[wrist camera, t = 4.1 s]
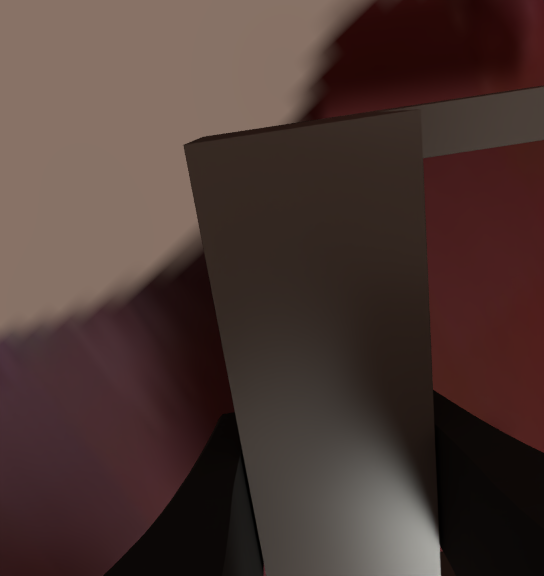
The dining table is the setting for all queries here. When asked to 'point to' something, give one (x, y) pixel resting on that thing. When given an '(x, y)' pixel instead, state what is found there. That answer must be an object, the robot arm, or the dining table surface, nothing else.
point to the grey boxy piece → (337, 323)
